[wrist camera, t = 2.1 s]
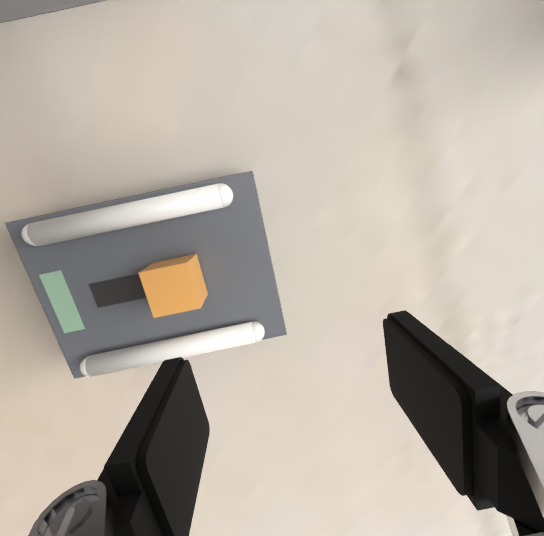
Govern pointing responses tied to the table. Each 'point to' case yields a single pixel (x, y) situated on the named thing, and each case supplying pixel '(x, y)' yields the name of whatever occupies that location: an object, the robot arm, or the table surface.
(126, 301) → the grey slider switch panel
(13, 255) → the table surface
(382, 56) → the table surface
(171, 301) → the block
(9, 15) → the grey tray
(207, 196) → the cord
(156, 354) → the cord
